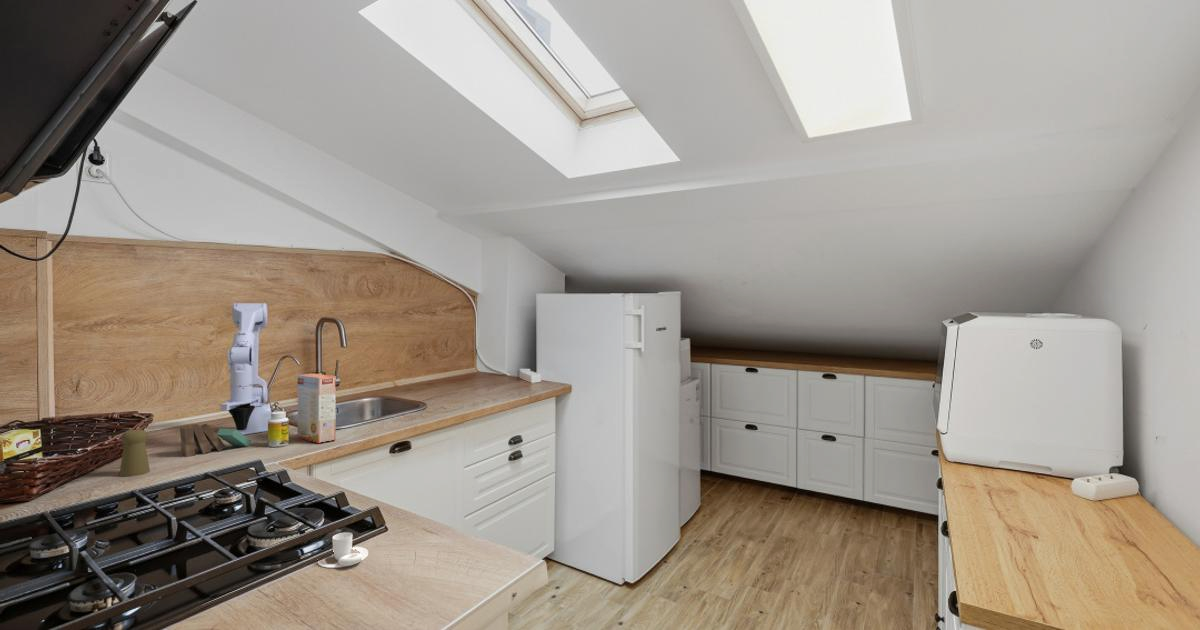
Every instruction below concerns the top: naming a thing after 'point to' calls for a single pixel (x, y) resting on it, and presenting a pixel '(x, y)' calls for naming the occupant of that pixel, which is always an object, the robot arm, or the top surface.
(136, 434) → the olive green pepper mill
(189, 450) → the domino
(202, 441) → the domino
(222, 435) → the domino head
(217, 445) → the domino
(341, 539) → the teacup and saucer
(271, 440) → the supplement bottle
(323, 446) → the top surface
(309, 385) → the cracker box
